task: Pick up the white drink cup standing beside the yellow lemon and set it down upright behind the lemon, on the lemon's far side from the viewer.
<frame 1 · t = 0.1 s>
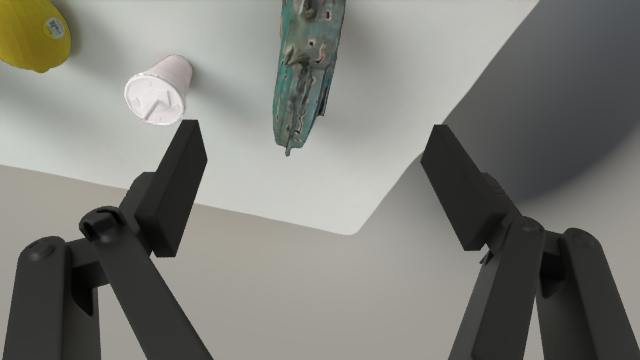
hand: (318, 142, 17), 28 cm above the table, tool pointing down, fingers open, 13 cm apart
ceramic cat: (301, 43, 40), on the table
lemon: (45, 14, 36), on the table
white drink cup: (178, 68, 41), on the table
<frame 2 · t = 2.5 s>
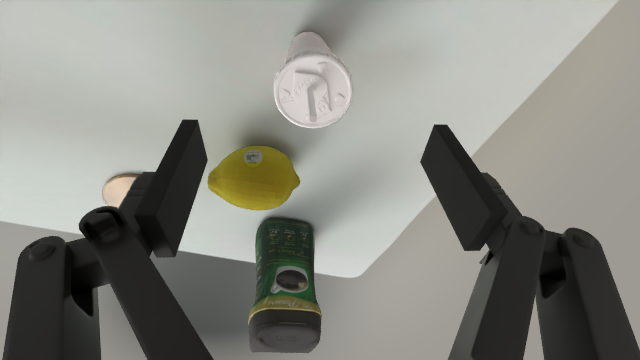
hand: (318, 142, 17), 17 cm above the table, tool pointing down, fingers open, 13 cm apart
coffee jar: (285, 230, 51), on the table
lemon: (258, 156, 39), on the table
cork coaster: (143, 199, 43), on the table
white drink cup: (308, 50, 31), on the table
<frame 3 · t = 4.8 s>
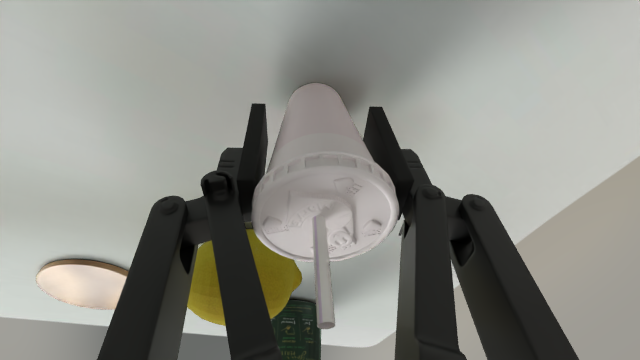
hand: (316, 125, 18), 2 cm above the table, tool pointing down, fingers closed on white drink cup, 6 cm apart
coffee jar: (283, 308, 40), on the table
lemon: (245, 235, 29), on the table
cork coaster: (95, 284, 32), on the table
white drink cup: (315, 108, 20), on the table, touching gripper
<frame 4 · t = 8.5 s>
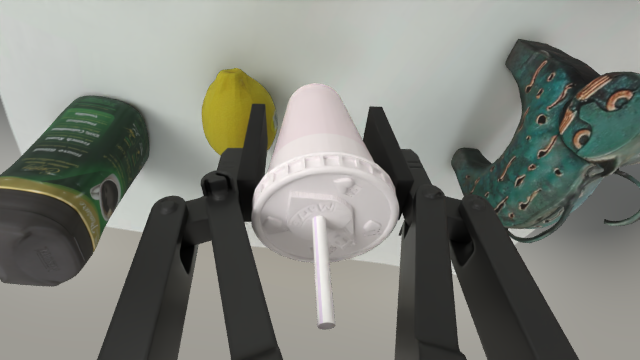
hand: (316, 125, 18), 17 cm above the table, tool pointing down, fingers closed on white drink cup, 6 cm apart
coffee jar: (116, 129, 36), on the table
ceramic cat: (493, 107, 38), on the table
lemon: (245, 99, 35), on the table
white drink cup: (315, 108, 20), point 14 cm above the table, touching gripper
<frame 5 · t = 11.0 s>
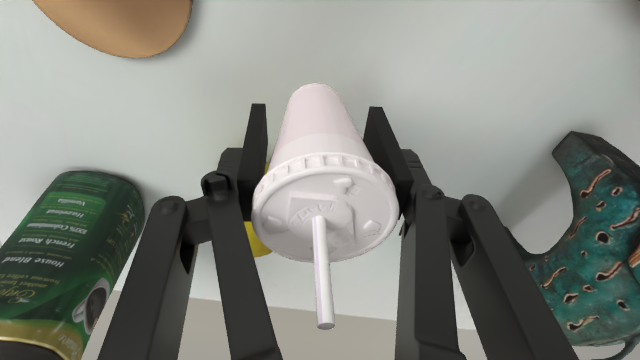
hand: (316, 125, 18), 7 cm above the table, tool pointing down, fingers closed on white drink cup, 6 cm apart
coffee jar: (106, 200, 31), on the table
ceramic cat: (529, 190, 35), on the table
lemon: (259, 176, 30), on the table
white drink cup: (315, 108, 20), point 5 cm above the table, touching gripper
when the fingers open (2 cm above the table, at t = 12.6 s): white drink cup stays where it is, on the table.
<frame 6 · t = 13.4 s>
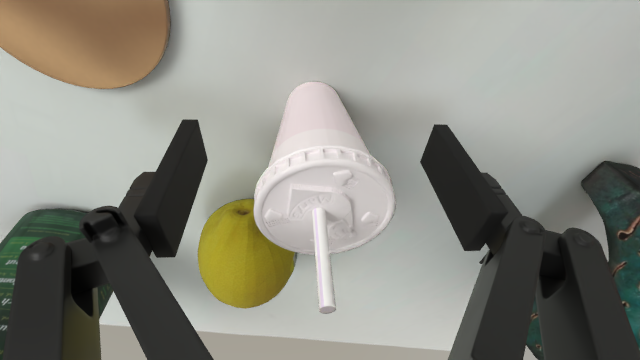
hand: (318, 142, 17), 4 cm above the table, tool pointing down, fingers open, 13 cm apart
coffee jar: (83, 236, 28), on the table
ceramic cat: (552, 221, 31), on the table
lemon: (254, 211, 27), on the table
white drink cup: (313, 106, 20), on the table
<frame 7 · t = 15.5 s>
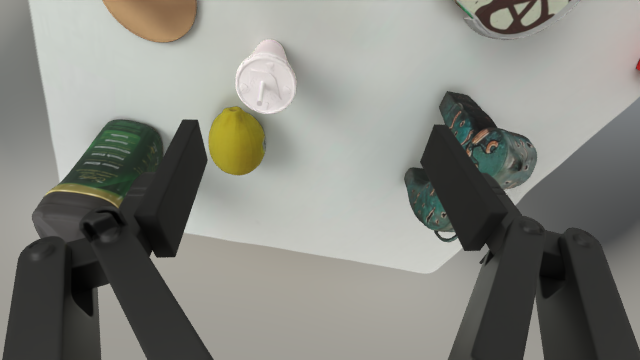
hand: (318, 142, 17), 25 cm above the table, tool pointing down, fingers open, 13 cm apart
coffee jar: (136, 144, 45), on the table
ceramic cat: (433, 138, 49), on the table
lemon: (241, 126, 45), on the table
white drink cup: (270, 54, 38), on the table
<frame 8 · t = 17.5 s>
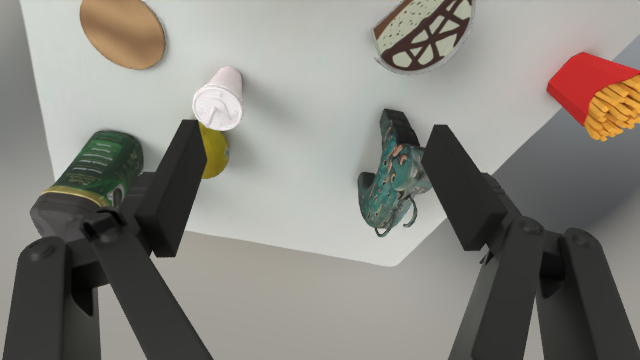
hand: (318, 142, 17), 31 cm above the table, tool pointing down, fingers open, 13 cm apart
coffee jar: (120, 150, 53), on the table
ceramic cat: (379, 147, 56), on the table
lemon: (210, 136, 52), on the table
cork coaster: (125, 31, 40), on the table
french fries: (566, 75, 49), on the table
food container: (410, 21, 42), on the table
white drink cup: (229, 78, 45), on the table
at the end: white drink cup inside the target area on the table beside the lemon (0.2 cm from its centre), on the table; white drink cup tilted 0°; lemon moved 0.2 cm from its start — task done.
